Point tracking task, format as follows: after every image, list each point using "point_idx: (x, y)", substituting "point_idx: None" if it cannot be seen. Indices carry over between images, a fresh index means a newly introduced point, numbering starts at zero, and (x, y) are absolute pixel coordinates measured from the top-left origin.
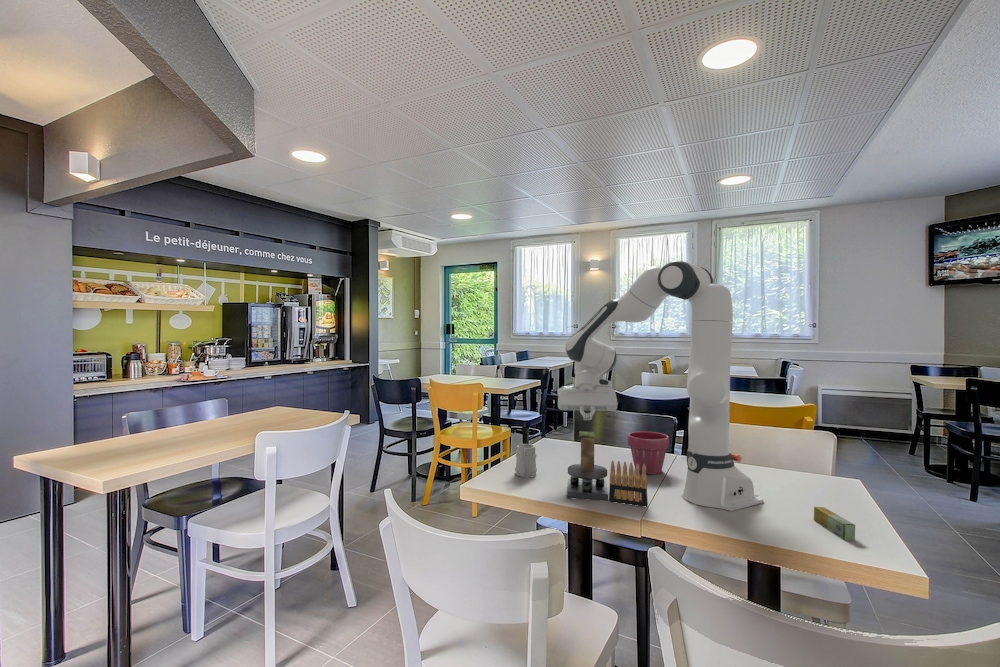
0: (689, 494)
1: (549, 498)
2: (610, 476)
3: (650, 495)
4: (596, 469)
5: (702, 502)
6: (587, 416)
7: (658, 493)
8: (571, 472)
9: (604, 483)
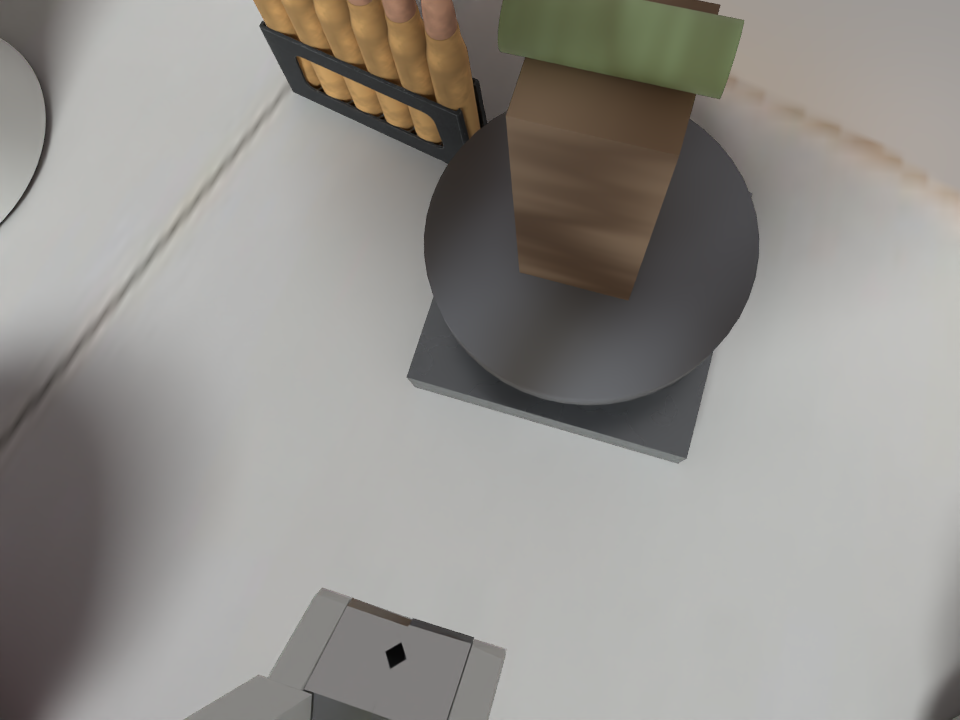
0: (13, 98)
1: (858, 217)
2: (466, 49)
3: (198, 226)
4: (512, 226)
5: (5, 46)
6: (405, 632)
7: (131, 255)
8: (741, 179)
9: (438, 331)
